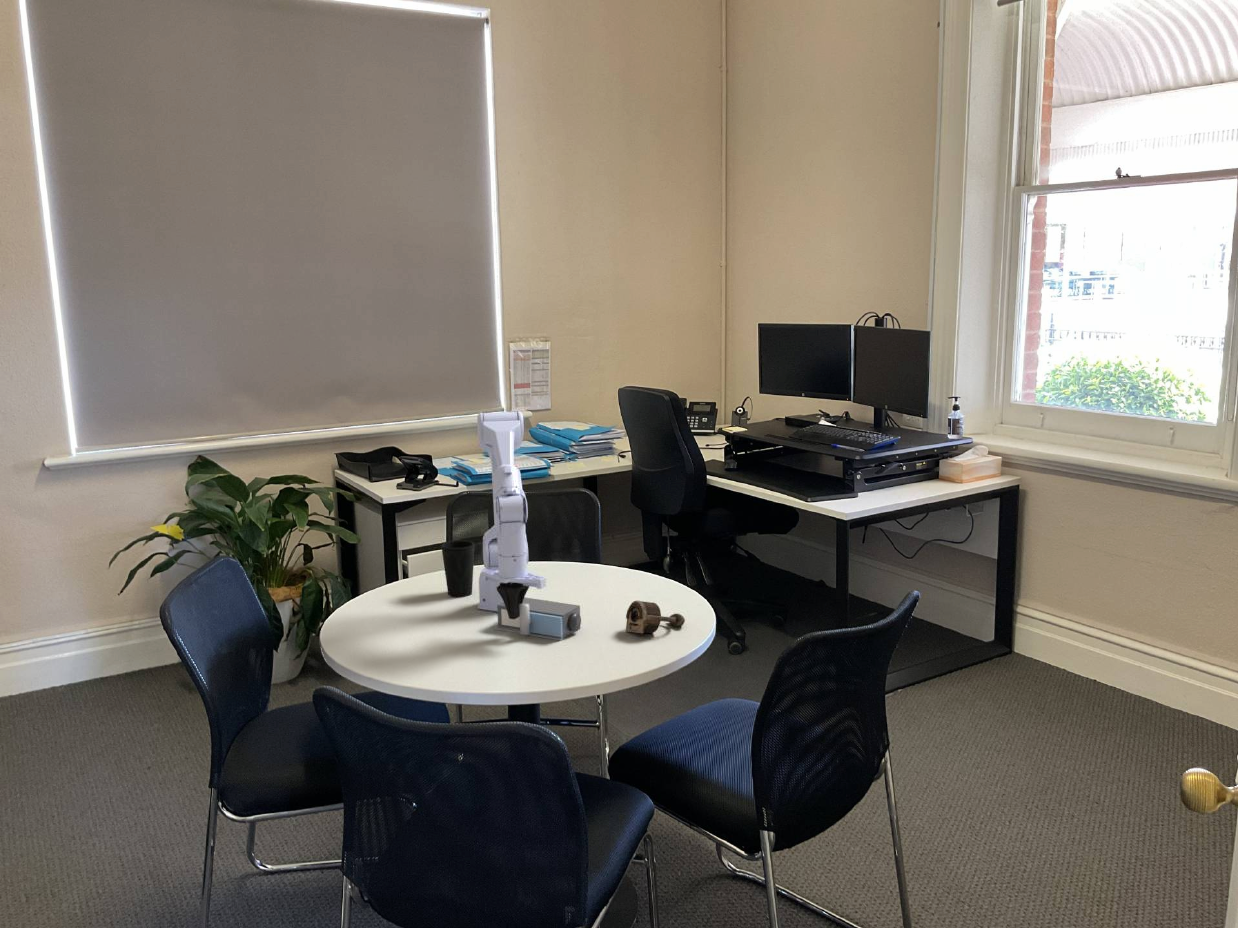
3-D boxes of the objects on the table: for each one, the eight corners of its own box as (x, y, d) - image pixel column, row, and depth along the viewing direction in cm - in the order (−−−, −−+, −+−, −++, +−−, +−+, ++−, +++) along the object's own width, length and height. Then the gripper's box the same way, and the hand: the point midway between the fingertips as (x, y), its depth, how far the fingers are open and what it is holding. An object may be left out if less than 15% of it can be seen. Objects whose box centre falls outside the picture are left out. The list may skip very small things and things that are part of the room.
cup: (483, 591, 234) (481, 542, 232) (461, 600, 228) (459, 550, 226) (458, 587, 238) (456, 538, 236) (436, 595, 232) (434, 545, 230)
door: (518, 635, 202) (517, 605, 201) (527, 630, 205) (526, 601, 204) (554, 641, 198) (553, 611, 197) (562, 636, 201) (562, 606, 200)
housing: (495, 629, 208) (494, 606, 207) (516, 618, 215) (515, 595, 214) (565, 641, 200) (565, 617, 199) (585, 629, 207) (584, 606, 206)
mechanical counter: (618, 600, 209) (625, 604, 199) (677, 590, 211) (687, 594, 201) (623, 634, 209) (631, 639, 199) (682, 624, 211) (692, 629, 201)
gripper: (471, 554, 200) (473, 618, 203) (531, 562, 194) (533, 628, 196) (491, 546, 207) (493, 608, 209) (550, 553, 200) (552, 617, 202)
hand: (514, 617), depth 203 cm, fingers closed
